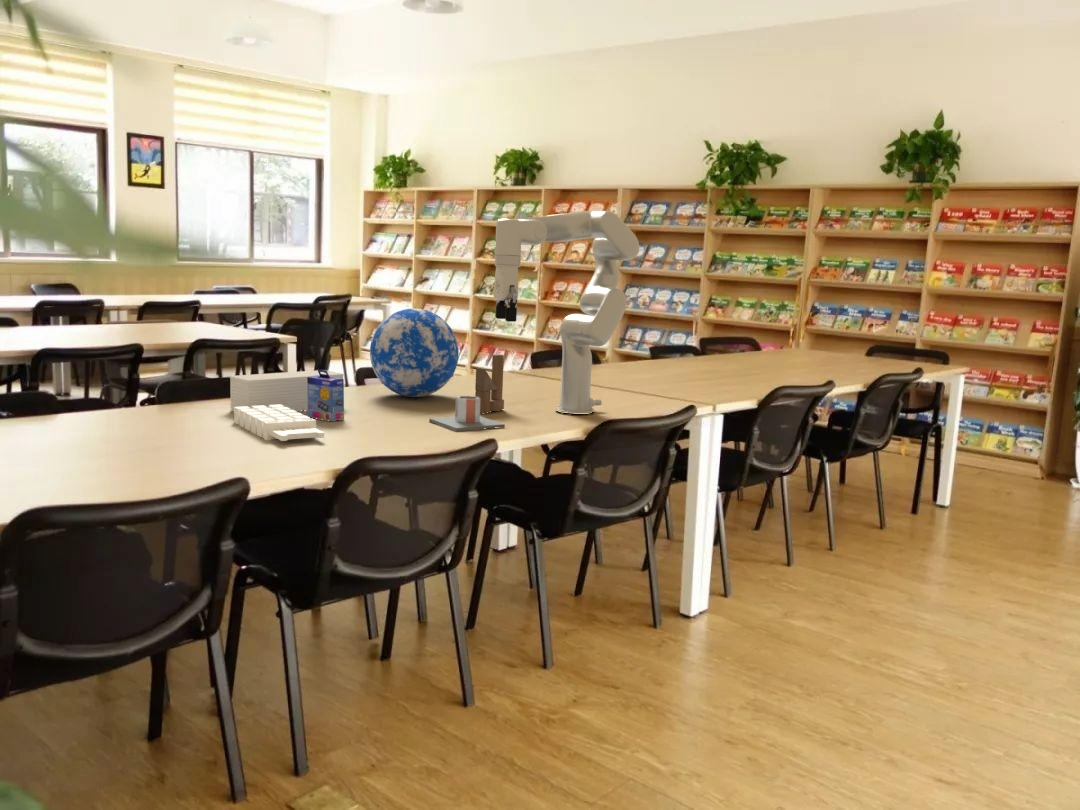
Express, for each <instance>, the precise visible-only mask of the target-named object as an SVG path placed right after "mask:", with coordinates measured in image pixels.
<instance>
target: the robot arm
mask: <svg viewBox="0 0 1080 810" xmlns="http://www.w3.org/2000/svg"><path fill="white" fill-rule="evenodd" d="M586 239H587V240H588V239H593V242H592V246H591V247H592V253H593V256H594V262H595V268H594V269H595V270H594V272H593V275H592V277H591V278H590V280H589V282H588V284H587V286H586V288H585V289H584V291H583V293H582V295H581V297H580V300H579V308H580V310H581V311H582V312H583V313H571V314H568V315H567V316H565V317H564V318H563V320H562V321H561V324H560V338H561V346H562V347H561V348H562V354H561V355H562V358H561V359H562V360H561V361H562V362H561V381H560V399H559V400H560V403H559V405H558V406H555V409H556V410H558V411H561V412H568V413H591V412H594V413H595V409H594V406H601V405H602V404H603V403H602V399H593V398H592V397H591V387H592V368H593V356H592V351H591V348H590V346H591V347H602V346H604V345H606V344H608V342H609V341H610V339H611V338H612V337H613V335H614V333H615V331H616V329H617V328H618V326H619V324H620V321H621V320H622V318H623V316H624V314H625V312H626V308H627V297H626V294H625V292H624V291H623V290H622V289H619V288H618V285H619V282H620V277H621V275H620V270H619V267H618V266H619V265H618V263H617V261H622V262H623V261H624V262H625V261H632V260H633V259H636V257H637V256H638V255H639V252H640V243H639V240H638V237H637V236H636V235H635V233H634V232H633V231H632V229H630V227H629V226H628V225H627V224H626V223H625V222H624V221H623V220H622V219H621V218H620V217H619V216H618V215H617V214H616V213H615V212H613V211H610V210H585V211H576V212H566V213H557V214H549V215H542V216H534V217H524V218H500V219H499V218H498V220H497V221H496V224H495V248H494V249H495V252H494V253H495V256H494V259H495V260H494V267H495V272H494V282H493V283H494V284H493V285H494V286H493V298H494V300H496V301H495V319H497V320H504V321H505V322H513V323H516V322H517V315H518V313H517V312H518V311H517V310H518V304H517V303H518V297H519V268H521V260H522V258H521V257H522V245H523V246H538V245H541V244H543V243H544V242H548V243H564V242H565V243H566V242H572V241H579V240H586ZM555 409H554V410H555Z"/></svg>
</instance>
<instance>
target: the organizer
mask: <svg viewBox="0 0 1080 810" xmlns="http://www.w3.org/2000/svg"><path fill="white" fill-rule="evenodd" d="M233 417H234V419H233V422H234V424H236V425H237V424H238V425H239V427H241V428H244V429H245V430H247V431H248V430H249V431H248V432H251V433H252V434H254V435H256V436H257V437H259V436H260V437H259V438H261V437H263V438H264V439H263V440H265V439H266V440H265V441H272V440H271V439H279V440H278V441H280V442H285V441H288V440H296V439H298V440H299V439H310V438H317V439H324V438H325V431H323V430H320V429H318V428H317V419H313V418H310V417H308V415H304V413H301V412H297V411H294V410H291V409H290V408H288V407H285V406H283V405H281V404H278V405H268V407H266V406H264V405H260V406H251V408H249V407H247V406H242V407H234V412H233ZM238 425H237V426H238Z"/></svg>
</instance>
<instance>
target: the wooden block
mask: <svg viewBox="0 0 1080 810" xmlns="http://www.w3.org/2000/svg"><path fill="white" fill-rule="evenodd" d="M504 358H505V355H504V354H501V353H494V354H492V356H491V360H492V361H491V375H489V373H488V371H487V370H486V369H485V368H477V367H476V368H475V384H474V385H475V389H474V390H475V395H474V396H476V397H479V398H480V413H487V412H490V411H497V410H502V409H505V399H504V398H503V387H504V386H503V385H504V384H503V383H504V363H505V362H504ZM490 376H491V377H490ZM497 412H498V411H497ZM490 413H491V412H490Z"/></svg>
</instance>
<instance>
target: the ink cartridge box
mask: <svg viewBox="0 0 1080 810" xmlns="http://www.w3.org/2000/svg"><path fill="white" fill-rule="evenodd" d="M316 370H318V373H319V375H317V376H309V377H307V390H308V391H307V393H308V411H307V416H308V417H312V419H313V418H317V419H316V420H319V419H323V420H322V421H324V420H329V421H333V422H336V421H335V420H339V421H344V420H345V396H344V395H345V388H344V387H345V384H344V382H345V381H344V380H345V379H344V377H343V378H337V377H330V376H329V374H328V372H327V371H328V370H327V371H326V369H316ZM320 372H324V373H326V374H321V373H320ZM343 419H344V420H343ZM329 421H328V422H329Z"/></svg>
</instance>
